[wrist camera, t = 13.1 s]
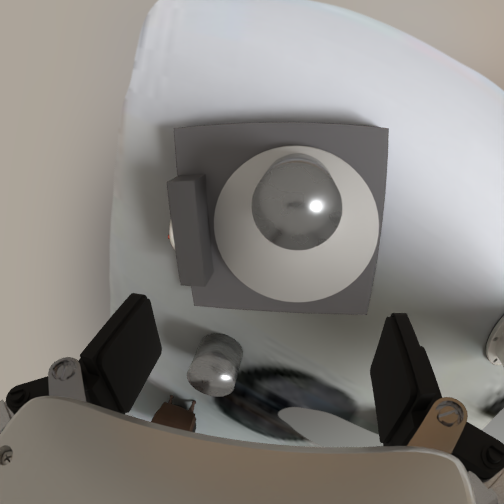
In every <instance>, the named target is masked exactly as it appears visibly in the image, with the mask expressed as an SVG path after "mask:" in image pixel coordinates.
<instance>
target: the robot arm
mask: <svg viewBox="0 0 504 504" xmlns="http://www.w3.org/2000/svg"><path fill="white" fill-rule="evenodd" d="M161 351H162V347H161V343H160V339H159V335H158V331H157V327H156V323H155V319H154V315H153V310H152V306H151V302H150V300H149V299H147V297H146V295H143V294H135V293H132V294H131V295H130V296H129V297H128V298H127V299H126V300H125V301H124V303H123V304H122V305H121V306H120V307H119V308H118V310H117V311H116V312H115V313H114V314H113V315H112V317H111V318H110V319H109V320H108V321H107V323H106V324H105V325H104V326H103V327H102V329H101V330H100V331H99V332H98V333H97V335H96V336H95V337H94V338H93V340H92V341H91V342H90V343H89V344H88V346H87V347H86V348H85V349H84V351H83V352H82V353H81V354H80V357H81V358H80V360H79V361H78V360H77V359H74V358H71V357H66V358H62V359H59V360H58V361H56V362H54V363H53V364H52V365H51V367H50V369H49V372H48V376H47V377H44V378H41V379H38V380H34V381H31V382H28V383H24V384H21V385H18V386H15V387H14V388H12V389H11V390H10V392H9V393H8V395H7V397H6V402H4V401H3V400H1V401H0V504H504V444H503V443H501V442H500V441H499V440H496V439H495V438H493V437H492V436H490V435H488V434H486V433H485V432H483V431H482V430H480V429H478V428H477V427H475V426H473V425H472V424H470V423H468V422H467V417H468V415H467V410H466V408H465V406H464V405H463V404H462V403H461V402H460V401H458V400H457V399H454V398H452V397H444V398H442V395H441V392H440V389H439V387H438V384H437V381H436V378H435V375H434V372H433V370H432V367H431V364H430V361H429V359H428V356H427V354H426V351H425V349H424V347H422V346H420V345H419V342H418V340H417V337H416V335H415V332H414V330H413V327H412V325H411V322H410V320H409V318H408V315H407V314H406V313H392V314H391V316H390V317H387V318H386V320H385V324H384V327H383V331H382V334H381V337H380V340H379V344H378V347H377V350H376V353H375V356H374V359H373V362H372V365H371V369H370V375H371V381H372V387H373V393H374V400H375V406H376V414H377V421H378V429H379V436H380V442H381V443H384V445H385V446H377V447H305V446H288V445H276V444H266V443H256V442H248V441H241V440H234V439H227V438H221V437H215V436H210V435H204V434H199V433H194V432H190V431H185V430H181V429H176V428H172V427H168V426H164V425H160V424H156V423H152V422H149V421H145V420H142V419H138V418H135V417H132V416H128V415H125V413H127V412H129V411H130V410H131V408H132V406H133V404H134V402H135V400H136V399H137V397H138V395H139V393H140V391H141V389H142V388H143V386H144V384H145V382H146V380H147V378H148V377H149V375H150V373H151V371H152V369H153V368H154V366H155V364H156V362H157V360H158V359H159V357H160V355H161ZM486 355H487V357H488V359H489V361H490V362H491V363H492V364H494V365H503V367H504V316H503V317H502V318H501V319H500V320H499V322H498V323H497V324H496V326H495V327H494V329H493V331H492V333H491V335H490V336H489V339H488V342H487V346H486Z"/></svg>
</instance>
